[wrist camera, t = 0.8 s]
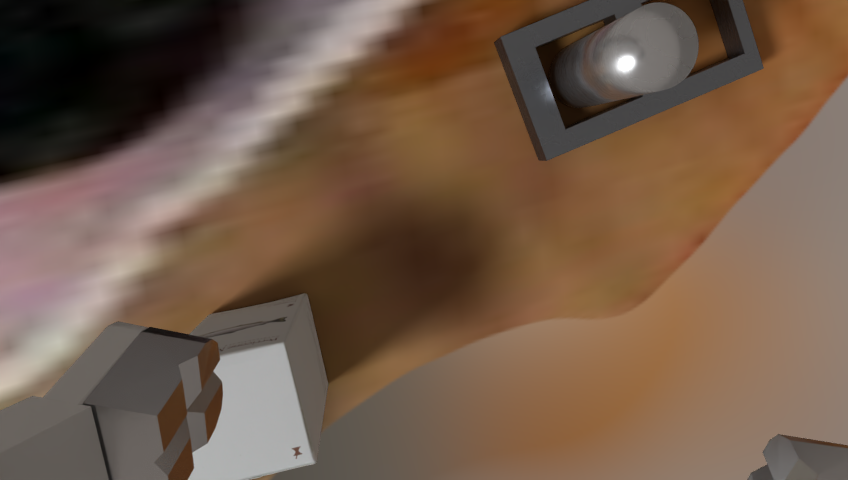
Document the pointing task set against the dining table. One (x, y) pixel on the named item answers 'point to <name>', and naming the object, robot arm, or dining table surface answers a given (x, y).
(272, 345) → the supplement box
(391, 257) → the dining table surface
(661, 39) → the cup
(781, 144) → the dining table surface
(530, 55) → the grey double frame
